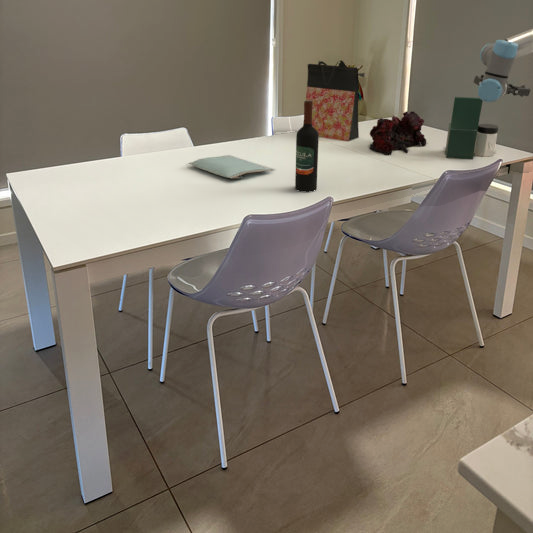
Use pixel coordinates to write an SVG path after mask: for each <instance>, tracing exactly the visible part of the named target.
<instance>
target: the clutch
mask: <svg viewBox="0 0 533 533" xmlns="http://www.w3.org/2000/svg"><path fill="white" fill-rule="evenodd" d="M188 164H189V165H191V166H194V167H196V168H198V169H200V170H203V171H205V172H209V173H212V174H214V175H217V176H220V177H224V178H227V179H244V176H243V175H246V174H252V173H259V172H268V171H269V172H270V171H273V169H272V168H268V167H265V166H262V165H260V164H258V163H255V162H252V161H248V160H246V159H241V158H239V157H235V156H231V155H220V156H211V157H203V158H199V159H196V160H194V161H192V162H188Z"/></svg>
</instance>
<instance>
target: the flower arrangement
mask: <svg viewBox="0 0 533 533" xmlns="http://www.w3.org/2000/svg"><path fill="white" fill-rule="evenodd" d="M402 115H403V116H402V117H401V119H400V118H399V117H398V116H395V115H393V116H391V119H389V118H382V117H380V118H379V119H377V120H376V121H377V122H376V125H373V126H372V128H371V130H370V131H369V136H370V138H372V143H370V145H369V151H371V152H375V153H378V154H383V155H384V156H391V155H392V153H393V152H394V151H395V152H396V151H403V152H404V153H406V154H408V152H409V151H408V148H412V147H419V146H422V147H426V145H427V138H425V135H424V134H423V132H421V131H422V126H423V125H424V123H425V119H423V118H421V117H420V116H419V115H418V114H417V113H416V112H415V111H410V112H408V111H406V110H405V111H404V112H403V113H402Z"/></svg>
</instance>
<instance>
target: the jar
mask: <svg viewBox="0 0 533 533" xmlns="http://www.w3.org/2000/svg"><path fill="white" fill-rule="evenodd" d="M498 132H499V125H496V124H490V123H480V124H478V129H477V135H476V142H475V148H474V155H473V156H479V157H482V158H483V157H494V156H495V150H496V143H497V138H498Z"/></svg>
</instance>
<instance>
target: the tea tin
mask: <svg viewBox="0 0 533 533" xmlns="http://www.w3.org/2000/svg"><path fill="white" fill-rule="evenodd" d="M450 126H451V122H449V123H448V128H447V136H446V144H445V158H446V159H460V160H461V159H462V160H474V156H475V155H474V148H475V142H476V135H477V130H467V129H450Z"/></svg>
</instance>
